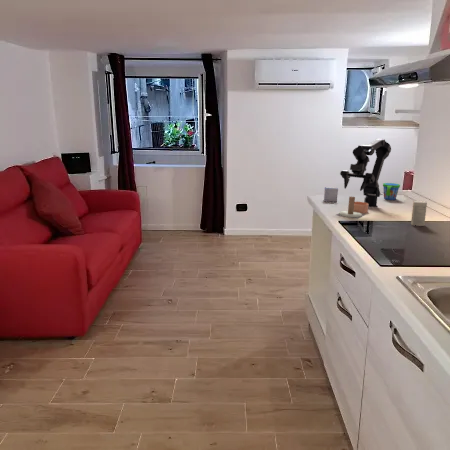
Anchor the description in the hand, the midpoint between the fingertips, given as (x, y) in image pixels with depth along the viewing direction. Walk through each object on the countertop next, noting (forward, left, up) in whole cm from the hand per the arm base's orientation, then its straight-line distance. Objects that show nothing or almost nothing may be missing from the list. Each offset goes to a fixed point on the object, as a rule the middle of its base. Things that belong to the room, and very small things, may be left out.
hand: (352, 189), depth 244 cm
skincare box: (-28, +23, -14) cm, 39 cm away
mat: (+2, +7, -14) cm, 15 cm away
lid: (+2, +7, -13) cm, 15 cm away
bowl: (-6, -4, -14) cm, 15 cm away
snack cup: (-38, -45, -14) cm, 61 cm away
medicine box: (+4, -34, -14) cm, 37 cm away
